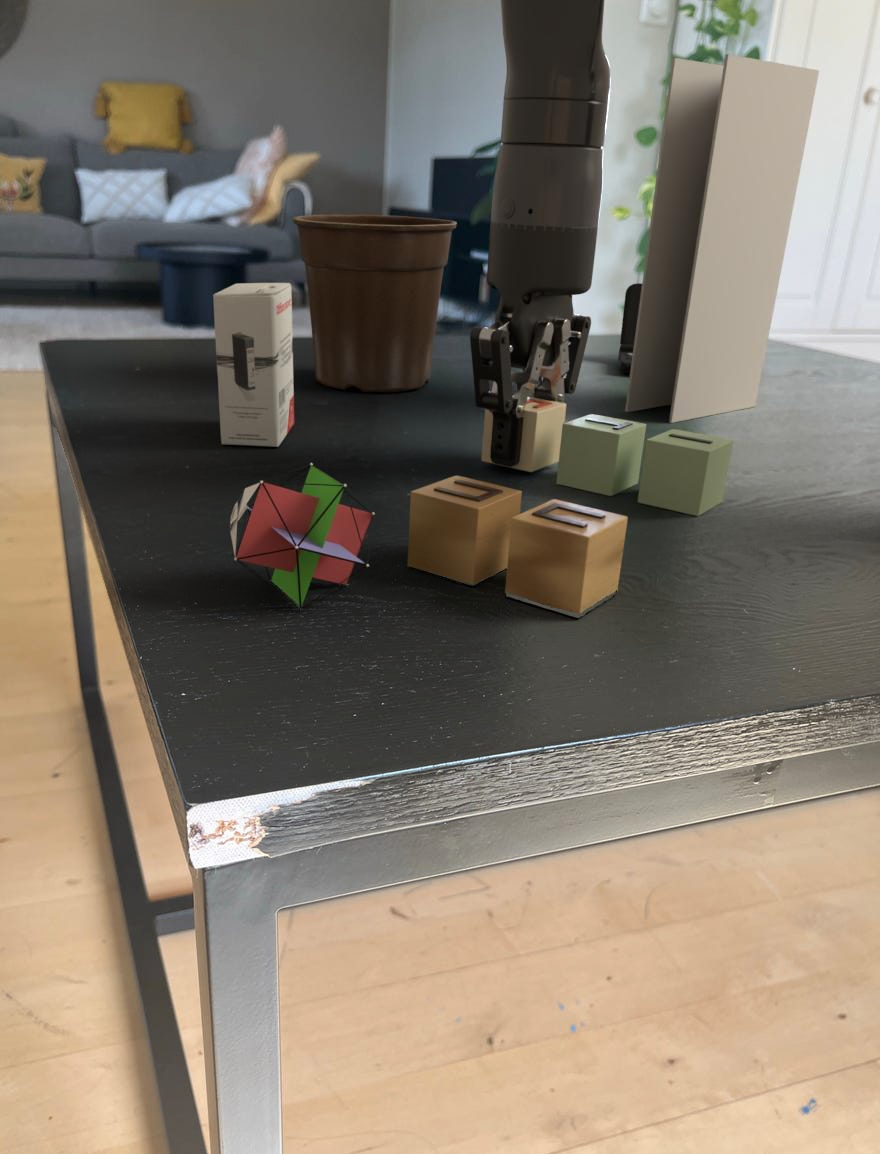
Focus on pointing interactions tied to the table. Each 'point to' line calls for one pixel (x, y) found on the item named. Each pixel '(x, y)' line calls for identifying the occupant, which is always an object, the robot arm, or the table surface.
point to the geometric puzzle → (301, 533)
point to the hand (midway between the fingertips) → (522, 456)
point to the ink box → (254, 363)
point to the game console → (629, 326)
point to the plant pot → (373, 297)
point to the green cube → (600, 454)
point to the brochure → (718, 233)
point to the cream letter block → (533, 434)
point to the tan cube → (461, 528)
